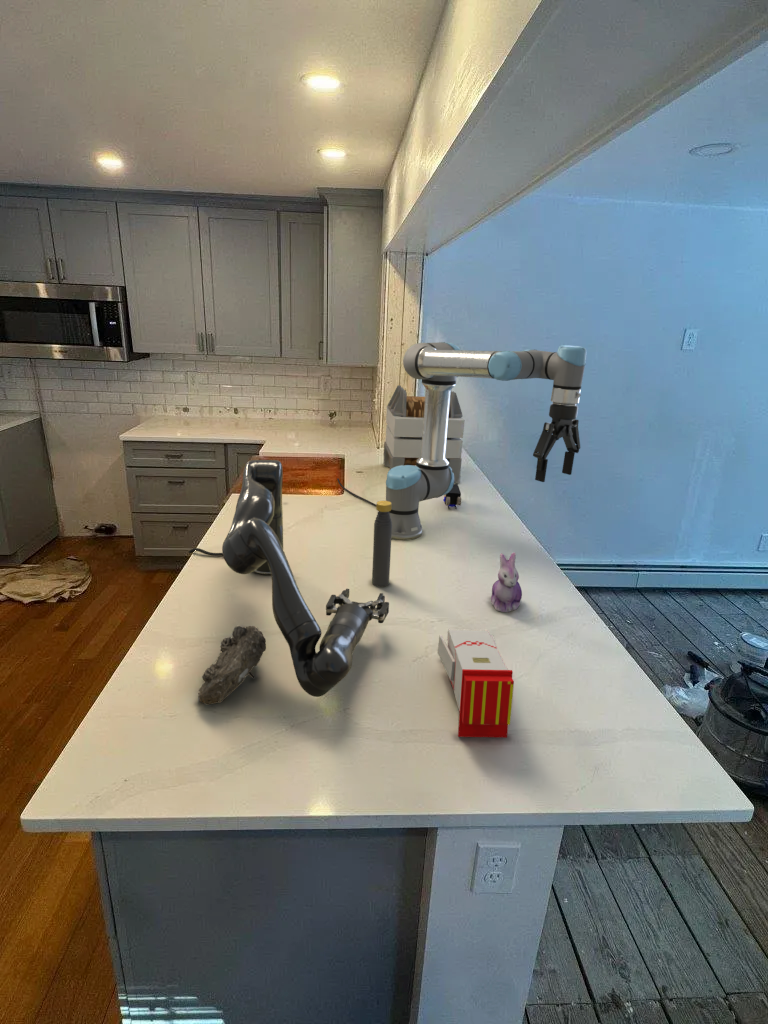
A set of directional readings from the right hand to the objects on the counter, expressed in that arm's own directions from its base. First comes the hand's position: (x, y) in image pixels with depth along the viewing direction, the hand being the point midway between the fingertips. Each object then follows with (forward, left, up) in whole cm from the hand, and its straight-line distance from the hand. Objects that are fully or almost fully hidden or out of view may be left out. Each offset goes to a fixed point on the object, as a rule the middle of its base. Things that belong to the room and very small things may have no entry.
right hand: (553, 477), depth 165 cm
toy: (+26, -62, -31) cm, 73 cm away
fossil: (-8, -97, -31) cm, 102 cm away
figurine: (+7, -25, -31) cm, 40 cm away
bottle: (-23, -44, -31) cm, 59 cm away
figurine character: (-59, +24, -31) cm, 71 cm away
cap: (-23, -44, -6) cm, 51 cm away
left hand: (-9, -62, -22) cm, 67 cm away
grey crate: (-101, +46, -31) cm, 115 cm away
